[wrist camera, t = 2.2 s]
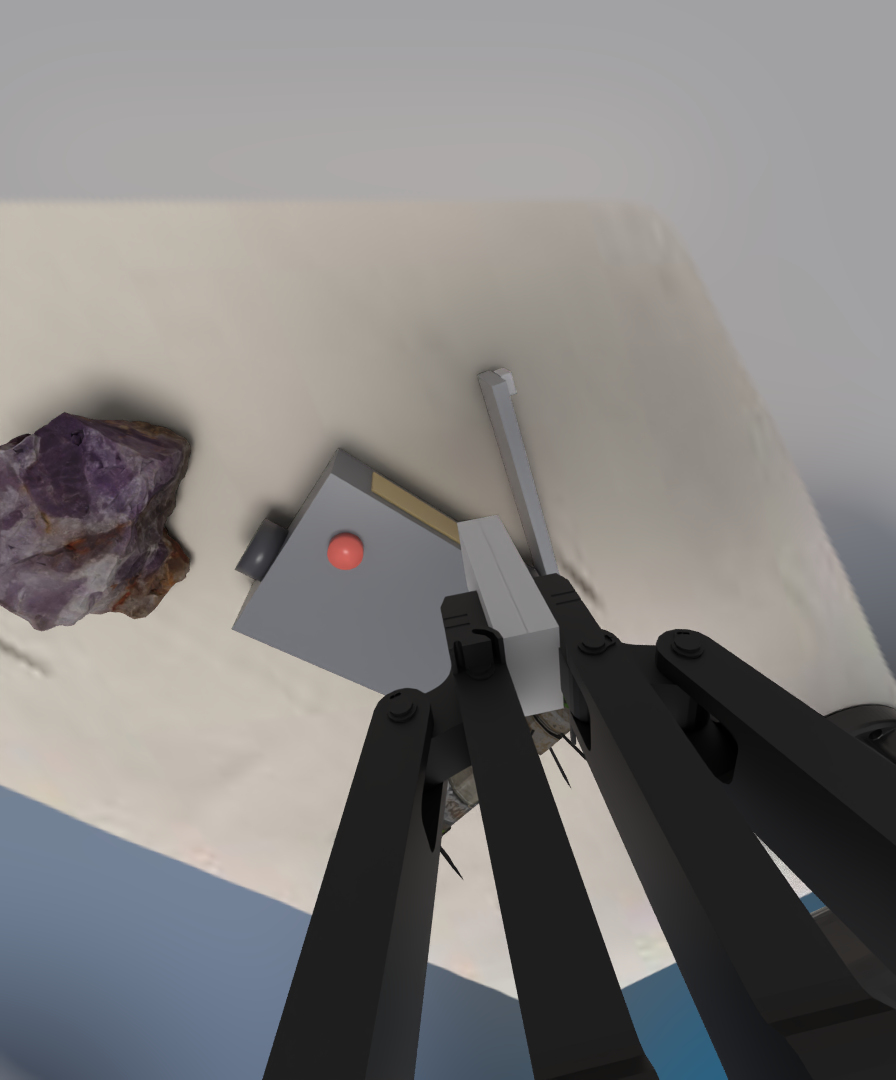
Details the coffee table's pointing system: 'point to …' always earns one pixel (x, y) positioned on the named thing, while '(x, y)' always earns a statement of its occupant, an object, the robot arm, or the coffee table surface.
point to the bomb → (462, 784)
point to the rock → (89, 519)
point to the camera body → (357, 581)
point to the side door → (517, 466)
